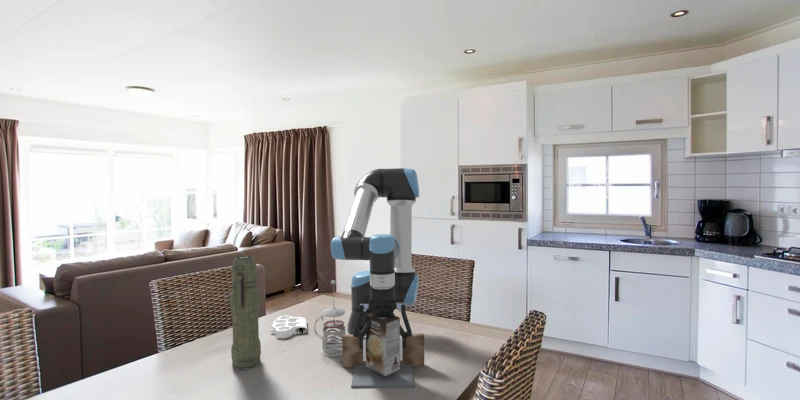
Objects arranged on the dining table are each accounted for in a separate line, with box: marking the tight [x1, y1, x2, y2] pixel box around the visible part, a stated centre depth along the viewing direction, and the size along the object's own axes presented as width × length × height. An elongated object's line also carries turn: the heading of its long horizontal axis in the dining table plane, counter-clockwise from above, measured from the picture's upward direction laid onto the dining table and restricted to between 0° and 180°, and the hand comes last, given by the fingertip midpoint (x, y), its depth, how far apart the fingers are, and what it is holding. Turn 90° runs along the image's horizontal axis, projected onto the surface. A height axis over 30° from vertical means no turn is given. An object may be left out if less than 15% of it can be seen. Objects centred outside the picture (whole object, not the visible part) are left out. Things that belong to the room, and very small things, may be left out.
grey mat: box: [350, 365, 415, 389], centre depth 122 cm, size 18×13×1 cm
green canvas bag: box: [229, 255, 262, 370], centre depth 130 cm, size 9×12×35 cm
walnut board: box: [341, 333, 425, 368], centre depth 128 cm, size 26×2×10 cm, turn 91°
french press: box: [313, 279, 346, 358], centre depth 140 cm, size 10×12×25 cm
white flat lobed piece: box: [268, 315, 308, 339], centre depth 161 cm, size 3×18×15 cm
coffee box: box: [366, 313, 401, 376], centre depth 121 cm, size 9×6×16 cm
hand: (382, 358), depth 121 cm, fingers closed on coffee box, 10 cm apart
